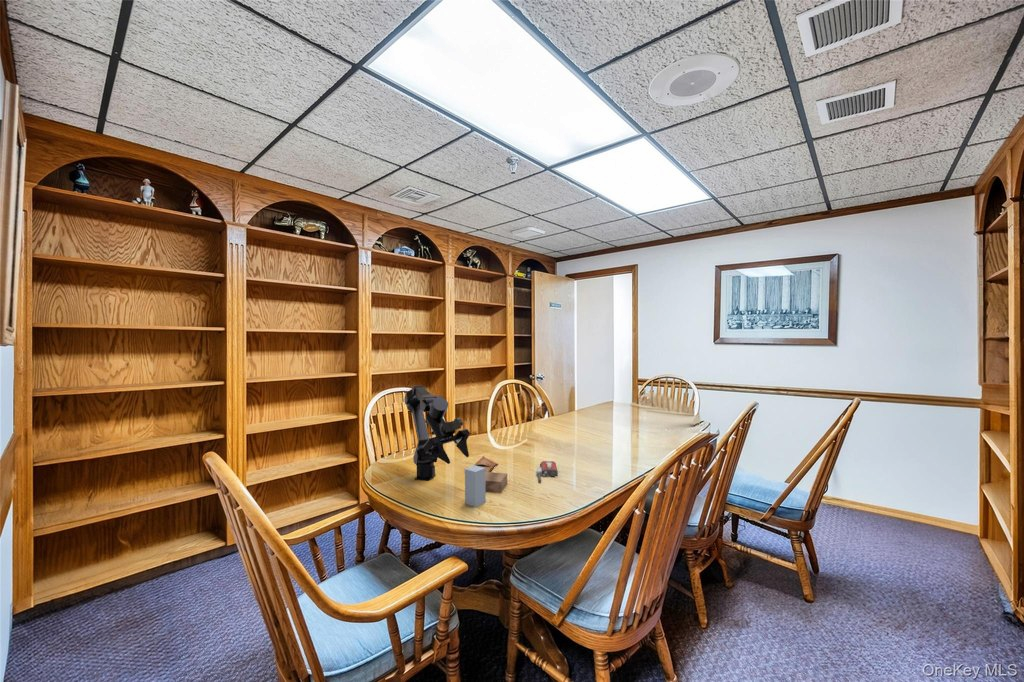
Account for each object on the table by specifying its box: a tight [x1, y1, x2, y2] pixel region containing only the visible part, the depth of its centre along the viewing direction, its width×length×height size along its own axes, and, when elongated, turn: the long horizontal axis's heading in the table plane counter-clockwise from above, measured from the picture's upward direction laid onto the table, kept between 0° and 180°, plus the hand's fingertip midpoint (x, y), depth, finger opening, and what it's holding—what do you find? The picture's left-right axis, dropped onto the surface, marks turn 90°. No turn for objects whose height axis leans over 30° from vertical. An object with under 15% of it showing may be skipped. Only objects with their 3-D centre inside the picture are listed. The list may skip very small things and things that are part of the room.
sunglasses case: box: [474, 455, 499, 472], centre depth 171 cm, size 18×7×7 cm
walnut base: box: [485, 471, 508, 493], centre depth 151 cm, size 9×9×4 cm
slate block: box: [464, 464, 487, 508], centre depth 137 cm, size 5×5×12 cm
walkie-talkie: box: [536, 460, 559, 483], centre depth 165 cm, size 9×4×20 cm
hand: (459, 459), depth 142 cm, fingers open, 9 cm apart
